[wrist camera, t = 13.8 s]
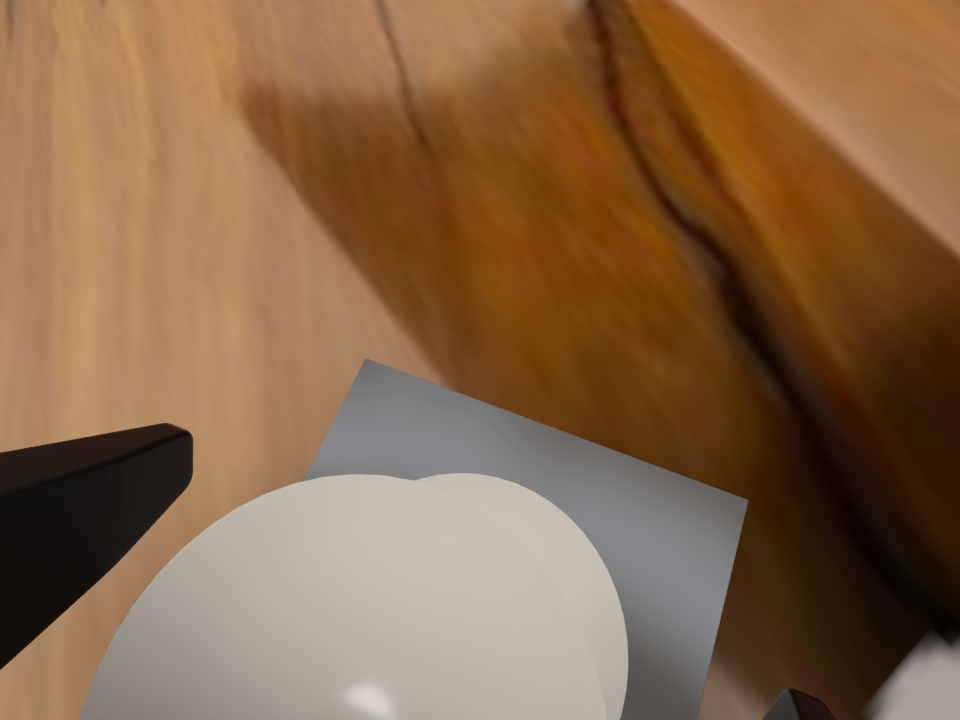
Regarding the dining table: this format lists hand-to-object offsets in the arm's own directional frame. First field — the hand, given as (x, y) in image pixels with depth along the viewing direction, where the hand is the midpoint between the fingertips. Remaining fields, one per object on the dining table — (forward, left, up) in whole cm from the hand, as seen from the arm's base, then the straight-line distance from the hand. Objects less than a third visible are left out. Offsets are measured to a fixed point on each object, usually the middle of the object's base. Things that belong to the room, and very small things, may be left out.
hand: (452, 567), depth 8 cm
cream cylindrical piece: (-2, 0, -9) cm, 10 cm away
